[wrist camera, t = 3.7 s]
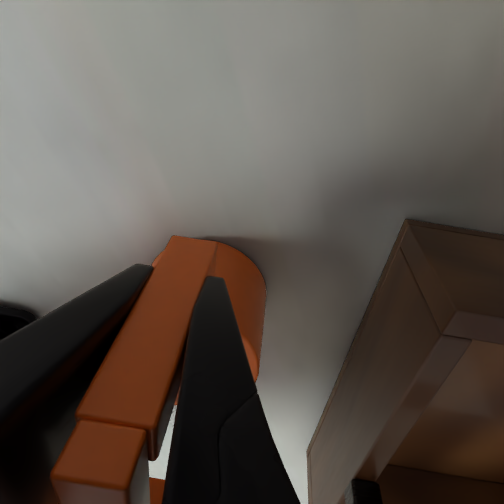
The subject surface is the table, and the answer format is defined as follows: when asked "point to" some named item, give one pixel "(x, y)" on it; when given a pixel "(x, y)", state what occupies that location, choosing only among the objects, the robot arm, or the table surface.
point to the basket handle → (362, 492)
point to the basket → (422, 378)
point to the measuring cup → (151, 375)
